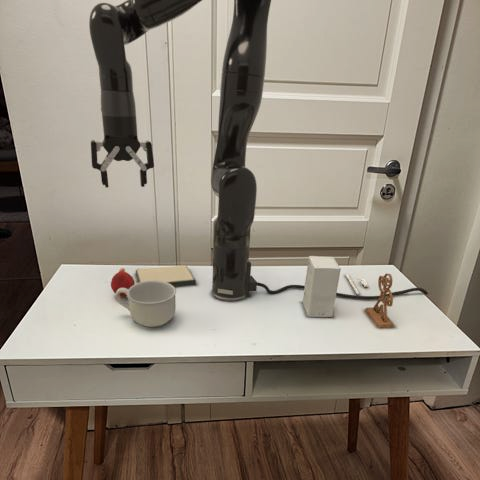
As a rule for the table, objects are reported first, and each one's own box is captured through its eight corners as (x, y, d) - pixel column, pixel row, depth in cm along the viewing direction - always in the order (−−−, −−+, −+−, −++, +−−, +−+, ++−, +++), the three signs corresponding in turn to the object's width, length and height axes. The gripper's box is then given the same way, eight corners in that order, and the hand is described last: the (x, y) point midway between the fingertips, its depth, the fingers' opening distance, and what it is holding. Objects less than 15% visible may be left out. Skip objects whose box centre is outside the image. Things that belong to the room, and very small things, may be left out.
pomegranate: (129, 304, 107) (127, 274, 103) (108, 301, 108) (105, 271, 104) (139, 294, 112) (137, 265, 108) (118, 291, 113) (115, 263, 109)
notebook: (187, 270, 128) (187, 264, 127) (195, 285, 119) (195, 279, 118) (135, 274, 124) (135, 268, 123) (140, 290, 115) (140, 284, 114)
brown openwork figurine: (393, 327, 103) (405, 281, 97) (378, 328, 102) (389, 282, 97) (378, 310, 111) (389, 266, 105) (364, 310, 110) (373, 267, 104)
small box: (332, 317, 106) (341, 268, 100) (307, 317, 106) (314, 267, 99) (325, 302, 113) (333, 256, 107) (302, 302, 113) (308, 255, 106)
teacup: (184, 315, 104) (183, 284, 100) (163, 336, 95) (161, 304, 91) (133, 304, 107) (131, 274, 103) (108, 324, 98) (104, 292, 94)
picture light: (345, 275, 130) (346, 268, 129) (359, 275, 130) (360, 269, 129) (356, 295, 118) (358, 288, 117) (372, 296, 118) (373, 289, 117)
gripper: (86, 113, 92) (95, 190, 100) (153, 115, 96) (156, 189, 104) (85, 111, 98) (94, 184, 106) (148, 112, 102) (152, 182, 110)
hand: (125, 186), depth 105 cm, fingers open, 8 cm apart
